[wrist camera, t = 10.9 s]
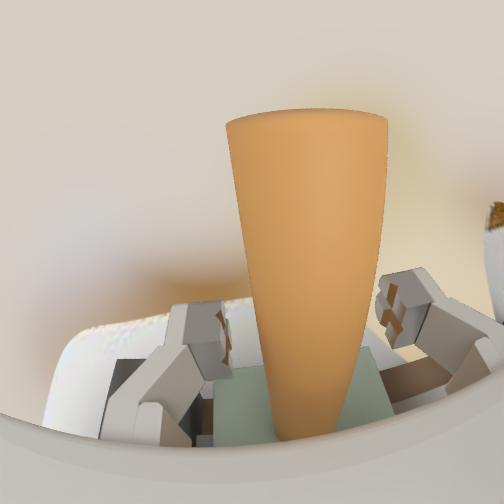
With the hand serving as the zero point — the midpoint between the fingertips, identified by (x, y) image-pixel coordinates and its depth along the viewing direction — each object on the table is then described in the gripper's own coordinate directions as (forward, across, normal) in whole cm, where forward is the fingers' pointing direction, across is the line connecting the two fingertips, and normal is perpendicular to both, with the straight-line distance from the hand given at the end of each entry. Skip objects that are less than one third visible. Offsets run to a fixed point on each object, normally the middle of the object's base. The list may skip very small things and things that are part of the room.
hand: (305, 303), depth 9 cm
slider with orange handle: (-1, 0, +9) cm, 10 cm away
